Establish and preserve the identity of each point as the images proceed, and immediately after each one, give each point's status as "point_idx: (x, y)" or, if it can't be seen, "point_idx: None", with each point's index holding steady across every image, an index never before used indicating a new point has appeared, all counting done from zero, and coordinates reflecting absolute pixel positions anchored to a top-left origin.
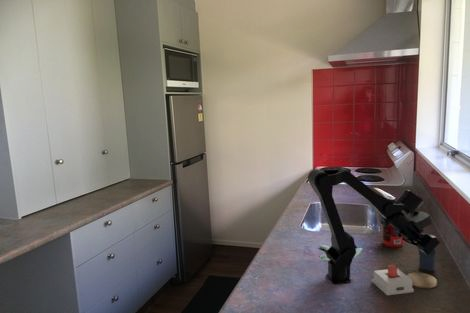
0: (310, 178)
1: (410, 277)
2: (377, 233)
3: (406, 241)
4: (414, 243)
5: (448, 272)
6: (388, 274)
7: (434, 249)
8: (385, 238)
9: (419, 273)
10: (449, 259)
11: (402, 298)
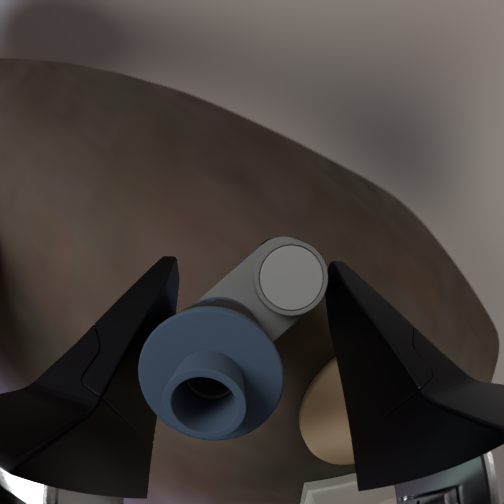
0: None
1: (342, 451)
2: None
3: (142, 497)
4: (150, 412)
5: (318, 207)
6: None
7: (378, 293)
8: None
9: (322, 396)
10: (182, 101)
11: None
